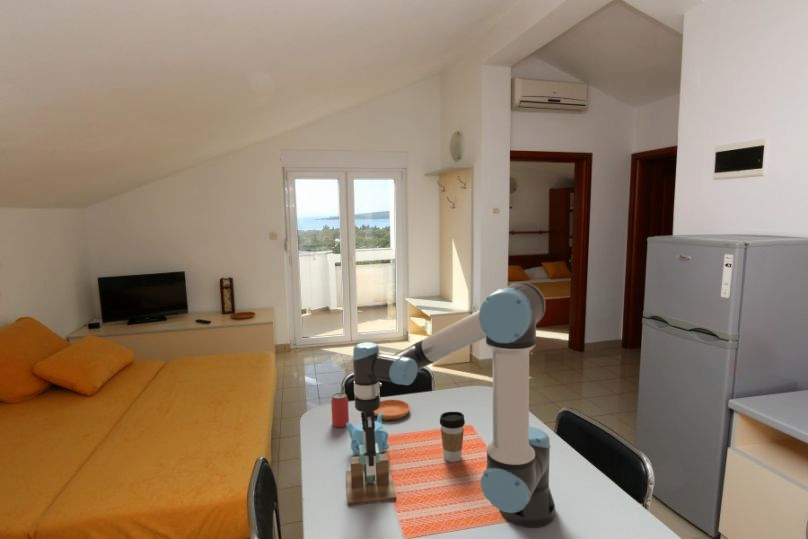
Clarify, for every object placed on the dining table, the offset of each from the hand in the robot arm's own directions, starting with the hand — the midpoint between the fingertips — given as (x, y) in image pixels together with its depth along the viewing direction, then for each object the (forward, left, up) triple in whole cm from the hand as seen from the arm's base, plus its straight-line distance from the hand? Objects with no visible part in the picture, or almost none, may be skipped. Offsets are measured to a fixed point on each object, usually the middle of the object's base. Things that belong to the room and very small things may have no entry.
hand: (369, 462), depth 136 cm
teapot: (+20, -1, -8) cm, 22 cm away
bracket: (0, 0, -8) cm, 8 cm away
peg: (0, 0, -6) cm, 6 cm away
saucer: (+49, -13, -8) cm, 51 cm away
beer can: (+43, +8, -8) cm, 44 cm away
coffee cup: (+11, -29, -8) cm, 32 cm away
